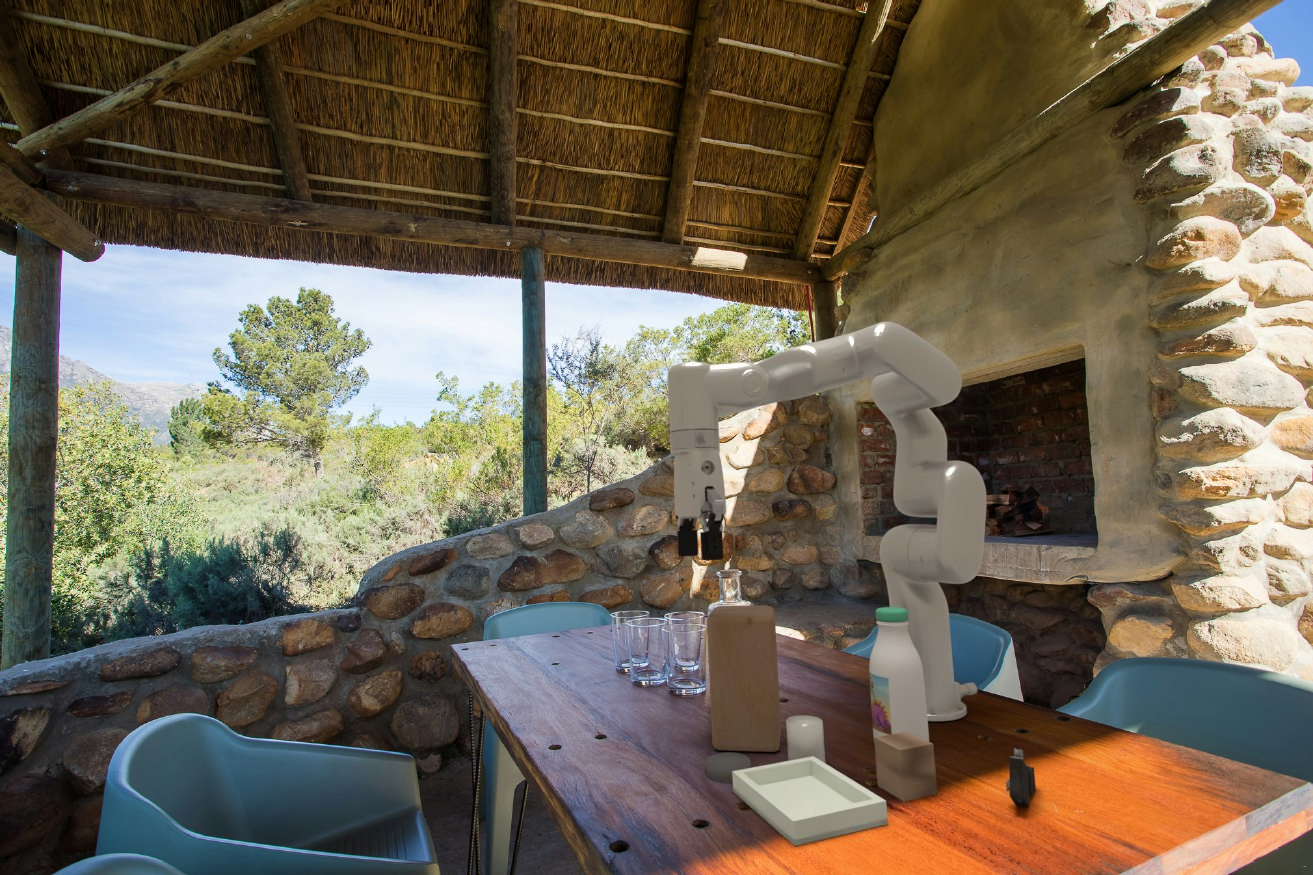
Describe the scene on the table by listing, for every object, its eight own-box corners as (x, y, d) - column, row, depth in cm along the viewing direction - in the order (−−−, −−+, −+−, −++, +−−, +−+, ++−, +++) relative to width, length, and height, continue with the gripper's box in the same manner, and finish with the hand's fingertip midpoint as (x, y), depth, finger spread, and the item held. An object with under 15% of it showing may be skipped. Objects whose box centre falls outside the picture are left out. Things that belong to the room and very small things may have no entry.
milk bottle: (928, 740, 101) (917, 604, 103) (931, 759, 94) (919, 613, 96) (874, 736, 103) (865, 604, 105) (873, 754, 96) (863, 612, 98)
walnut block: (909, 779, 87) (906, 731, 88) (937, 794, 83) (933, 743, 83) (877, 786, 86) (874, 737, 86) (904, 801, 81) (900, 750, 82)
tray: (814, 775, 90) (813, 756, 90) (887, 824, 75) (886, 800, 76) (733, 791, 86) (732, 771, 86) (794, 845, 71) (793, 821, 72)
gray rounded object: (739, 764, 95) (738, 749, 95) (759, 779, 90) (758, 764, 90) (700, 771, 93) (699, 756, 93) (718, 787, 88) (717, 771, 88)
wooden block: (780, 754, 98) (772, 614, 100) (711, 752, 100) (705, 614, 102) (781, 731, 107) (774, 604, 109) (719, 729, 109) (713, 604, 111)
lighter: (1016, 812, 82) (1015, 764, 85) (1036, 816, 81) (1035, 767, 84) (1002, 794, 77) (1002, 743, 80) (1024, 798, 76) (1023, 746, 79)
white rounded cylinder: (812, 756, 96) (810, 713, 97) (832, 768, 92) (829, 723, 92) (782, 762, 95) (779, 718, 95) (800, 775, 90) (798, 728, 91)
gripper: (741, 437, 95) (747, 559, 93) (696, 449, 111) (701, 553, 110) (692, 438, 93) (697, 563, 91) (654, 449, 109) (658, 556, 107)
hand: (699, 557), depth 100 cm, fingers open, 9 cm apart
